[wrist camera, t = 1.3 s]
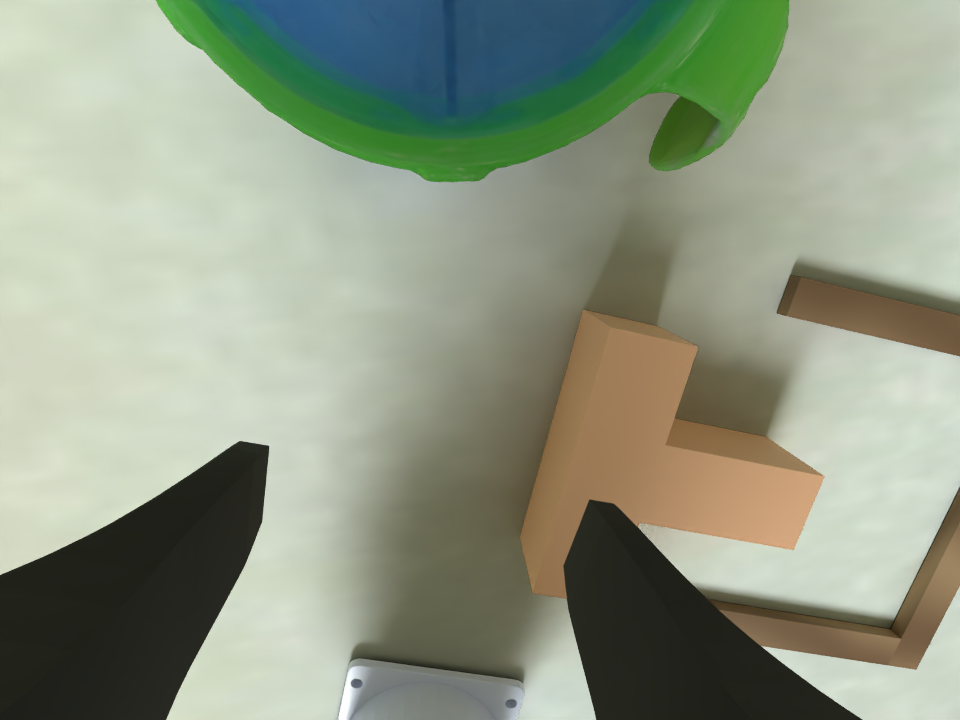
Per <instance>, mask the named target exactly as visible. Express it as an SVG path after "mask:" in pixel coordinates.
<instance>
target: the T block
mask: <svg viewBox="0 0 960 720" xmlns="http://www.w3.org/2000/svg"><path fill="white" fill-rule="evenodd" d="M697 350H698V346H696V345H694V344H692V343H690V342H688V341H686V340H684V339H682V338H680V337H678V336H676V335H674V334H672V333H670V332H668V331H666V330H664V329H662V328H660V327H658V326H655V325H650V324H646V323H641V322H637V321H632V320H628V319H623V318H619V317H614V316H610V315H605V314H601V313H596V312H592V311H588V310H583V312H582V316H581V319H580V323H579V326H578V330H577V333H576V337H575V341H574V344H573V348H572V351H571V355H570V359H569V362H568V366H567V369H566V373H565V377H564V380H563V384H562V387H561V391H560V395H559V398H558V402H557V405H556V409H555V413H554V416H553V420H552V423H551V427H550V431H549V434H548V438H547V441H546V445H545V448H544V452H543V456H542V459H541V463H540V466H539V470H538V474H537V477H536V481H535V484H534V488H533V492H532V495H531V499H530V502H529V506H528V510H527V513H526V517H525V520H524V524H523V528H522V531H521V535H520V540H521V544H522V549H523V553H524V557H525V562H526V566H527V571H528V575H529V579H530V584H531V588H532V593H534V594H541V595H547V596H553V597H560V598H566V599H567V595H566V587H565V578H564V568H563V565H564V563H565V560H566V558H567V555H568V553H569V550H570V547H571V545H572V542H573V540H574V537H575V535H576V532H577V530H578V527H579V525H580V522H581V519H582V517H583V514H584V512H585V509H586V507H587V504H588V502H589V499H590V500H596V501H602V502H608V503H614V504H615V505H616V506H617V507H618V508H619V509H620V510H621V511H622V512H623V513H624V514H625V515H626V516H627V517H628V518H629V519H630V520H631V521H632V522H633V523H634V524H635V525H636V526H637V527H638V525H639V523H644V524H650V525H656V526H661V527H667V528H673V529H678V530H684V531H690V532H695V533H701V534H706V535H712V536H718V537H723V538H729V539H735V540H740V541H746V542H752V543H757V544H763V545H768V546H774V547H780V548H785V549H791V550H794V548H795V545H796V543H797V541H798V538H799V536H800V534H801V531H802V529H803V526H804V524H805V522H806V519H807V517H808V515H809V512H810V510H811V508H812V505H813V503H814V501H815V498H816V496H817V493H818V491H819V489H820V486H821V484H822V482H823V479H824V477H825V476H823V475H822V474H820V473H819V472H817V471H816V470H814V469H813V468H811V467H810V466H808V465H807V464H805V463H804V462H802V461H801V460H800V459H798V458H797V457H795V456H794V455H792V454H791V453H789V452H788V451H786V450H785V449H783V448H782V447H780V446H779V445H777V444H776V443H774V442H773V441H771V440H770V439H768V438H767V437H764V436H759V435H754V434H749V433H744V432H739V431H734V430H729V429H724V428H719V427H715V426H710V425H705V424H700V423H695V422H690V421H685V420H680V419H675V415H676V412H677V409H678V406H679V403H680V400H681V397H682V394H683V391H684V388H685V385H686V383H687V380H688V377H689V374H690V371H691V368H692V365H693V362H694V359H695V356H696V353H697Z"/></svg>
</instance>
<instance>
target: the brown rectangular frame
mask: <svg viewBox="0 0 960 720" xmlns="http://www.w3.org/2000/svg"><path fill="white" fill-rule="evenodd" d="M777 313H778V314H781V315H785V316H789V317H793V318H798V319H802V320H806V321H810V322H815V323H819V324H823V325H828V326H832V327H836V328H841V329H845V330H849V331H853V332H858V333H862V334H866V335H871V336H875V337H879V338H884V339H888V340H892V341H897V342H901V343H905V344H909V345H914V346H918V347H922V348H927V349H931V350H935V351H940V352H944V353H948V354H952V355H957V356H960V315H956V314H952V313H948V312H943V311H939V310H935V309H931V308H927V307H923V306H919V305H915V304H911V303H906V302H902V301H898V300H894V299H890V298H886V297H882V296H878V295H873V294H869V293H865V292H861V291H857V290H853V289H849V288H845V287H840V286H836V285H832V284H828V283H824V282H820V281H816V280H812V279H807V278H803V277H798V276H792V275H791V277H790V279H789V282H788V285H787V287H786V290H785V293H784V295H783V298H782V301H781V304H780V306H779V309H778V312H777ZM959 586H960V490H959V492H958V494H957V496H956V498H955V500H954V502H953V504H952V506H951V508H950V510H949V512H948V514H947V516H946V518H945V520H944V522H943V524H942V526H941V528H940V530H939V532H938V534H937V536H936V538H935V540H934V542H933V544H932V546H931V548H930V550H929V552H928V554H927V557H926V559H925V561H924V563H923V565H922V567H921V569H920V571H919V573H918V575H917V577H916V579H915V581H914V583H913V585H912V587H911V589H910V591H909V593H908V595H907V597H906V599H905V601H904V603H903V605H902V607H901V609H900V611H899V613H898V615H897V617H896V619H895V621H894V623H893V625H892V627H891V629H887V628H880V627H874V626H868V625H862V624H856V623H850V622H843V621H837V620H831V619H825V618H819V617H812V616H806V615H800V614H794V613H788V612H782V611H775V610H769V609H763V608H757V607H751V606H744V605H738V604H732V603H726V602H720V601H713V600H709V601H710V602H711V603H712V604H713V605H714V606H715V607H716V608H717V609H718V610H719V611H720V612H722V613H723V614H724V615H725V616H726V617H727V618H728V619H729V620H731V621H732V622H733V623H734V624H735V625H736V626H737V627H739V628H740V629H741V630H742V631H743V632H745V633H746V634H747V635H748V636H749V637H750V638H752V639H753V640H754V641H755V642H756V643H758V644H759V645H760V646H765V647H772V648H778V649H785V650H791V651H798V652H804V653H811V654H818V655H824V656H831V657H837V658H844V659H850V660H857V661H863V662H870V663H876V664H883V665H890V666H896V667H903V668H909V669H917V667H918V665H919V663H920V661H921V659H922V658H923V656H924V654H925V652H926V650H927V648H928V646H929V644H930V642H931V640H932V638H933V636H934V634H935V632H936V631H937V629H938V627H939V625H940V623H941V621H942V619H943V617H944V615H945V613H946V611H947V609H948V607H949V606H950V604H951V602H952V600H953V598H954V596H955V594H956V592H957V590H958V588H959Z"/></svg>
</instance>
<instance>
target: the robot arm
mask: <svg viewBox="0 0 960 720" xmlns="http://www.w3.org/2000/svg"><path fill="white" fill-rule="evenodd" d="M268 455H269V446H267V445H261V444H255V443H249V442H243V441H239V442H237V443H236V444H234V445H233V446H231V447H230V448H228V449H227V450H225V451H224V452H222V453H221V454H219V455H218V456H217V457H215V458H214V459H212V460H211V461H209V462H208V463H206V464H205V465H204V466H202V467H201V468H199V469H198V470H196V471H195V472H193V473H192V474H190V475H189V476H187V477H186V478H184V479H183V480H181V481H180V482H178V483H177V484H175V485H174V486H172V487H170V488H169V489H167V490H166V491H164V492H163V493H161V494H160V495H158V496H156V497H155V498H153V499H152V500H150V501H148V502H147V503H145V504H143V505H141V506H140V507H138V508H136V509H135V510H133V511H131V512H130V513H128V514H126V515H124V516H123V517H121V518H119V519H118V520H116V521H114V522H112V523H111V524H109V525H107V526H105V527H103V528H101V529H99V530H98V531H96V532H94V533H92V534H90V535H88V536H86V537H84V538H82V539H80V540H78V541H76V542H74V543H72V544H69V545H67V546H65V547H63V548H61V549H59V550H57V551H55V552H53V553H51V554H49V555H46V556H44V557H42V558H40V559H37V560H35V561H32V562H30V563H28V564H25V565H23V566H21V567H18V568H16V569H14V570H11V571H9V572H6V573H4V574H2V575H0V720H166V718H167V716H168V714H169V711H170V709H171V707H172V705H173V702H174V700H175V698H176V695H177V693H178V691H179V689H180V687H181V685H182V683H183V681H184V679H185V677H186V675H187V672H188V670H189V668H190V666H191V665H192V663H193V661H194V659H195V657H196V655H197V654H198V652H199V650H200V648H201V646H202V644H203V642H204V641H205V639H206V637H207V635H208V633H209V631H210V629H211V628H212V626H213V624H214V622H215V620H216V618H217V617H218V615H219V613H220V611H221V609H222V607H223V605H224V604H225V602H226V600H227V598H228V596H229V594H230V592H231V590H232V589H233V587H234V585H235V583H236V581H237V579H238V577H239V575H240V574H241V572H242V570H243V568H244V566H245V564H246V561H247V559H248V556H249V554H250V551H251V549H252V546H253V544H254V541H255V539H256V536H257V533H258V531H259V528H260V526H261V523H262V517H263V506H264V496H265V486H266V475H267V465H268ZM563 568H564V578H565V587H566V595H567V602H568V609H569V613H570V618H571V622H572V626H573V630H574V634H575V638H576V642H577V646H578V649H579V653H580V657H581V661H582V665H583V669H584V672H585V676H586V680H587V684H588V688H589V692H590V696H591V699H592V703H593V707H594V711H595V716H596V720H862V719H861V718H859V717H858V716H856V715H854V714H853V713H851V712H850V711H848V710H847V709H845V708H844V707H842V706H841V705H839V704H838V703H836V702H835V701H834V700H832V699H831V698H829V697H828V696H826V695H825V694H823V693H822V692H821V691H819V690H818V689H816V688H815V687H814V686H812V685H811V684H810V683H808V682H807V681H806V680H804V679H803V678H801V677H800V676H799V675H797V674H796V673H795V672H793V671H792V670H791V669H789V668H788V667H787V666H785V665H784V664H783V663H781V662H780V661H779V660H778V659H776V658H775V657H774V656H772V655H771V654H770V653H769V652H767V651H766V650H765V649H764V648H762V647H761V646H760V645H759V644H758V643H756V642H755V641H754V640H753V639H752V638H750V637H749V636H748V635H747V634H746V633H745V632H743V631H742V630H741V629H740V628H739V627H737V626H736V625H735V624H734V623H733V622H732V621H731V620H729V619H728V618H727V617H726V616H725V615H724V614H723V613H722V612H720V611H719V610H718V609H717V608H716V607H715V606H714V605H713V604H712V603H711V602H710V601H709V600H708V599H707V598H706V597H705V596H704V595H703V594H702V593H700V592H699V591H698V590H697V589H696V588H695V587H694V586H693V585H692V584H691V583H690V582H689V581H688V580H687V579H686V578H685V577H684V576H683V575H682V574H681V573H680V572H679V571H678V570H677V569H676V568H675V567H674V565H673V564H672V563H671V562H670V561H669V560H668V559H667V558H666V557H665V556H664V555H663V554H662V553H661V552H660V551H659V550H658V549H657V548H656V547H655V545H654V544H653V543H652V542H651V541H650V540H649V539H648V538H647V537H646V536H645V535H644V534H643V533H642V531H641V530H640V529H639V528H638V527H637V526H636V525H635V524H634V523H633V522H632V521H631V520H630V519H629V518H628V517H627V516H626V515H625V514H624V513H623V512H622V511H621V510H620V509H619V508H618V507H617V506H616V505H615V504H614V503H608V502H602V501H596V500H590V499H589V502H588V504H587V507H586V509H585V512H584V514H583V517H582V519H581V522H580V525H579V527H578V530H577V532H576V535H575V537H574V540H573V542H572V545H571V547H570V550H569V553H568V555H567V558H566V560H565V563H564V565H563ZM354 679H360V681H356V680H354ZM523 698H524V686H523V684H522V683H521V682H520V681H518V680H515V679H507V678H500V677H493V676H485V675H478V674H471V673H463V672H456V671H449V670H441V669H434V668H427V667H419V666H412V665H405V664H398V663H390V662H383V661H376V660H368V659H355V660H353V661H352V662H351V663H350V664H349V666H348V671H347V676H346V681H345V686H344V690H343V695H342V700H341V705H340V710H339V715H338V720H517V718H518V715H519V711H520V708H521V705H522V701H523ZM509 699H514V700H512V701H508V700H509Z"/></svg>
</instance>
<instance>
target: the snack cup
mask: <svg viewBox="0 0 960 720" xmlns="http://www.w3.org/2000/svg"><path fill="white" fill-rule="evenodd" d="M156 2H157V4H158V6H159V7H160V9H161V10H162V11H163V13H164V14H165V16H166V17H167V18H168V20H169V21H170V22H171V24H172V25H173V27H174V28H175V30H176V31H177V32H178V33H179V34H180V35H182V36H183V37H184V38H185V39H186V40H187V41H188V42H190V43H191V44H193V45H195V46H196V47H198V48H200V49H202V50H204V51H205V53H206V54H207V55H208V56H209V57H210V58H211V59H212V61H213V62H214V63H215V64H216V65H218V66H219V67H220V68H221V69H222V70H223V71H224V72H225V73H226V74H228V75H229V76H230V77H231V78H232V79H233V80H234V81H235V82H236V83H237V84H238V85H239V86H241V87H242V88H243V89H244V90H246V91H247V92H248V93H249V94H250V95H251V96H252V97H254V98H255V99H256V100H257V101H259V102H260V103H261V104H262V105H263V106H264V107H265V108H266V109H267V110H268V111H270V112H272V113H274V114H275V115H277V116H279V117H280V118H282V119H283V120H285V121H286V122H288V123H289V124H291V125H292V126H294V127H295V128H297V129H298V130H300V131H301V132H303V133H304V134H306V135H308V136H310V137H312V138H314V139H316V140H318V141H320V142H322V143H324V144H326V145H328V146H329V147H331V148H333V149H335V150H338V151H341V152H344V153H346V154H349V155H352V156H355V157H358V158H360V159H363V160H366V161H369V162H373V163H377V164H382V165H386V166H391V167H395V168H400V169H406V170H410V171H413V172H415V173H417V174H419V175H420V176H421V177H422V178H424V179H425V180H428V181H434V182H459V181H479V180H481V179H483V178H484V177H485V176H486V175H487V174H488V173H489V172H491V171H493V170H495V169H497V168H502V167H507V166H510V165H513V164H518V163H522V162H526V161H528V160H531V159H533V158H536V157H539V156H541V155H544V154H546V153H549V152H551V151H554V150H556V149H559V148H561V147H564V146H566V145H568V144H569V143H571V142H573V141H575V140H577V139H579V138H581V137H583V136H585V135H587V134H589V133H590V132H592V131H593V130H595V129H597V128H598V127H600V126H601V125H603V124H605V123H606V122H608V121H609V120H610V119H612V118H613V117H614V116H616V115H617V114H618V113H620V112H621V111H622V110H624V109H625V108H626V107H627V106H629V105H630V104H631V103H633V102H634V101H635V100H637V99H638V98H640V97H642V96H644V95H646V94H650V93H658V92H669V93H675V94H677V95H680V96H681V97H680V98H678V99H677V100H676V102H675V103H674V104H673V106H672V107H671V109H670V110H669V112H668V113H667V115H666V117H665V119H664V121H663V122H662V124H661V127H660V129H659V131H658V133H657V135H656V137H655V139H654V142H653V145H652V148H651V151H650V155H649V163H650V164H651V166H652V167H654V168H655V169H657V170H659V171H671V170H677V169H680V168H682V167H684V166H686V165H689V164H691V163H693V162H696V161H698V160H700V159H701V158H703V157H705V156H707V155H709V154H710V153H711V152H713V151H714V150H716V149H717V148H719V147H720V146H722V145H723V144H724V143H725V142H726V141H727V140H728V139H729V138H730V136H731V135H732V134H733V132H734V131H735V129H736V128H737V127H738V125H739V124H740V122H741V121H742V120H743V119H744V117H745V115H746V113H747V110H748V107H749V105H750V103H751V102H752V100H753V98H754V96H755V95H756V93H757V92H758V91H759V90H760V88H761V87H762V86H763V85H764V84H765V83H766V82H767V80H768V78H769V76H770V74H771V72H772V70H773V68H774V67H775V65H776V62H777V59H778V56H779V54H780V52H781V50H782V47H783V43H784V38H785V34H786V31H787V28H788V13H789V0H156Z"/></svg>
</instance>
